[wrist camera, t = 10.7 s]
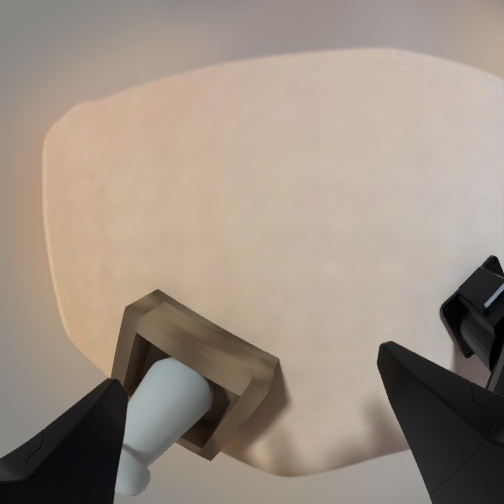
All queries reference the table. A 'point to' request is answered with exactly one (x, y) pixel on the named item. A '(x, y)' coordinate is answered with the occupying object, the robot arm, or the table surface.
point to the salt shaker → (159, 419)
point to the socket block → (194, 365)
